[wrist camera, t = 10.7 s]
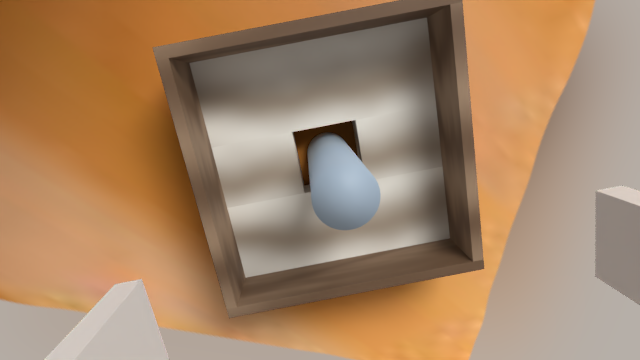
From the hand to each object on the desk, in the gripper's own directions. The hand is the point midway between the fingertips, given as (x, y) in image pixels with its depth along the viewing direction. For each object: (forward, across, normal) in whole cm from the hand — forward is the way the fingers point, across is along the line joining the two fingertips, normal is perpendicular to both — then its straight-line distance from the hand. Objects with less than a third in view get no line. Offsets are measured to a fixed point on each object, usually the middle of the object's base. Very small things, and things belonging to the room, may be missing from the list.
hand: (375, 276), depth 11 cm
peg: (+23, 0, 0) cm, 23 cm away
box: (+23, 0, 0) cm, 23 cm away
